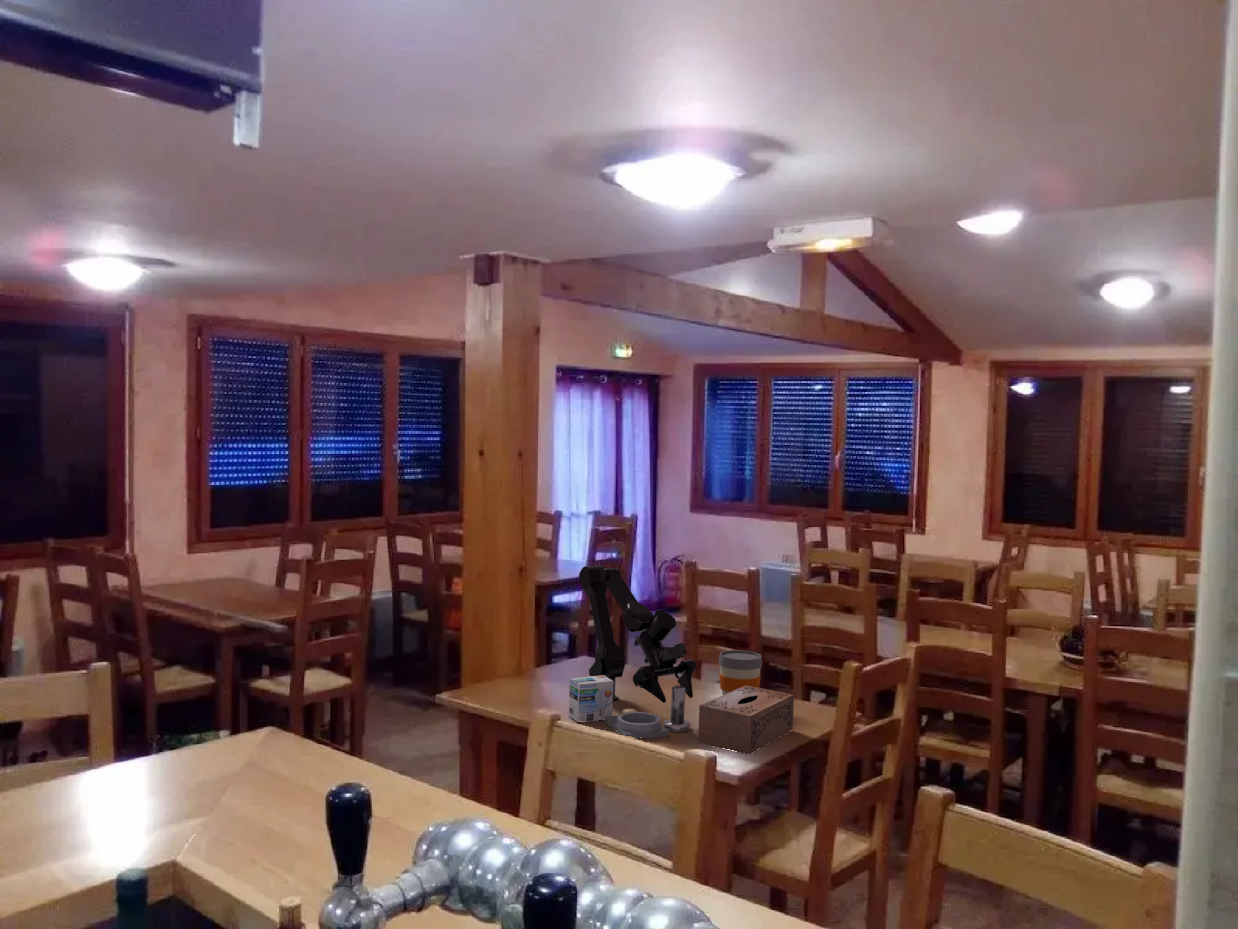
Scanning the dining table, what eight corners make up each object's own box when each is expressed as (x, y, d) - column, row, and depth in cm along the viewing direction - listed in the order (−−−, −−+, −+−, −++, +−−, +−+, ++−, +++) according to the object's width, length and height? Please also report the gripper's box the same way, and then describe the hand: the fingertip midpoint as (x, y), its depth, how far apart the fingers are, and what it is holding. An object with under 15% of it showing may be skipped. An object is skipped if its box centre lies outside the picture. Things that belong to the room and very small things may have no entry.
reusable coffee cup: (708, 705, 292) (710, 654, 291) (734, 697, 301) (735, 648, 300) (743, 715, 283) (745, 662, 282) (769, 706, 292) (771, 655, 292)
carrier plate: (604, 722, 272) (604, 709, 272) (645, 718, 276) (646, 706, 276) (625, 740, 257) (625, 726, 257) (668, 736, 261) (669, 723, 261)
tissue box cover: (744, 721, 278) (745, 685, 278) (792, 731, 270) (794, 694, 270) (698, 744, 257) (699, 705, 257) (748, 756, 249) (750, 716, 249)
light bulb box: (577, 723, 270) (579, 684, 270) (567, 717, 276) (568, 678, 276) (613, 719, 275) (614, 680, 275) (602, 712, 281) (603, 674, 280)
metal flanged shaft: (659, 725, 271) (661, 685, 270) (683, 723, 273) (685, 683, 273) (670, 733, 264) (671, 692, 264) (694, 731, 267) (696, 690, 266)
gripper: (640, 637, 266) (665, 687, 258) (694, 630, 278) (719, 678, 269) (621, 660, 273) (645, 710, 265) (675, 653, 284) (699, 701, 276)
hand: (678, 699), depth 268 cm, fingers open, 9 cm apart
